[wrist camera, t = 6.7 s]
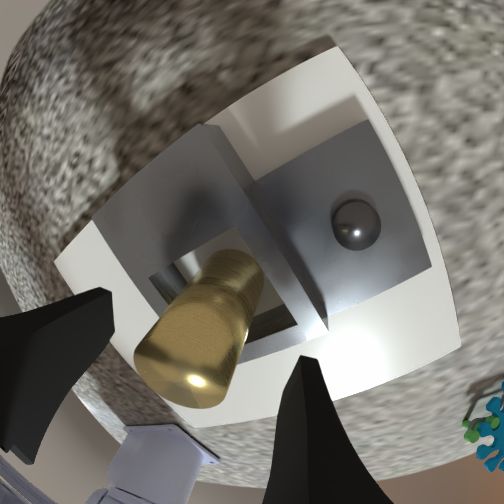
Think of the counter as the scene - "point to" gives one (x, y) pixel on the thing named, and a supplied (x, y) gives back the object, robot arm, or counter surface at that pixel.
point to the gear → (488, 433)
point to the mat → (282, 362)
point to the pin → (202, 332)
